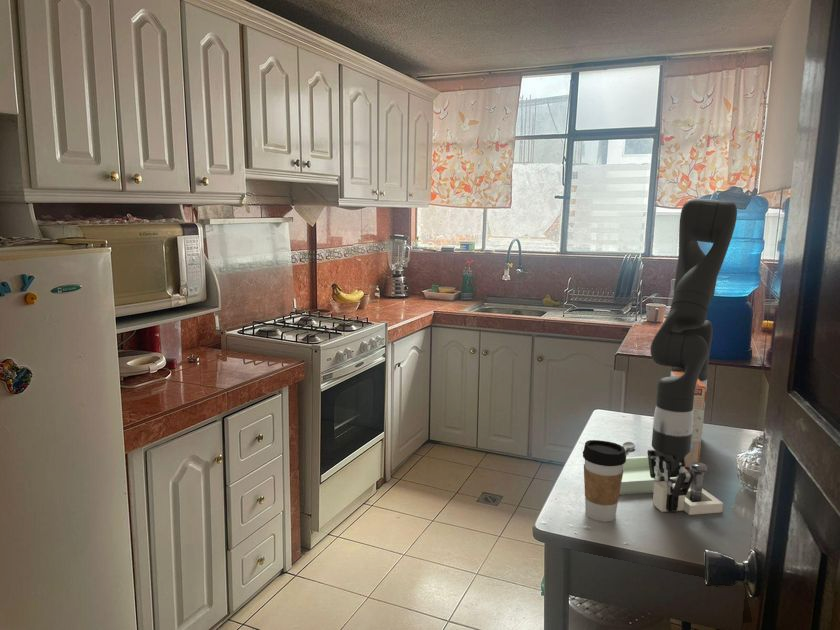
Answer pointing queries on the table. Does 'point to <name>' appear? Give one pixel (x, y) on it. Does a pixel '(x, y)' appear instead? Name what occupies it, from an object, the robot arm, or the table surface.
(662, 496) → the cream stepped holder
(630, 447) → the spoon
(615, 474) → the coffee cup
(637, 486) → the tray
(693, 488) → the grey bolt
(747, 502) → the table surface
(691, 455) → the cracker box
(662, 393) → the robot arm
